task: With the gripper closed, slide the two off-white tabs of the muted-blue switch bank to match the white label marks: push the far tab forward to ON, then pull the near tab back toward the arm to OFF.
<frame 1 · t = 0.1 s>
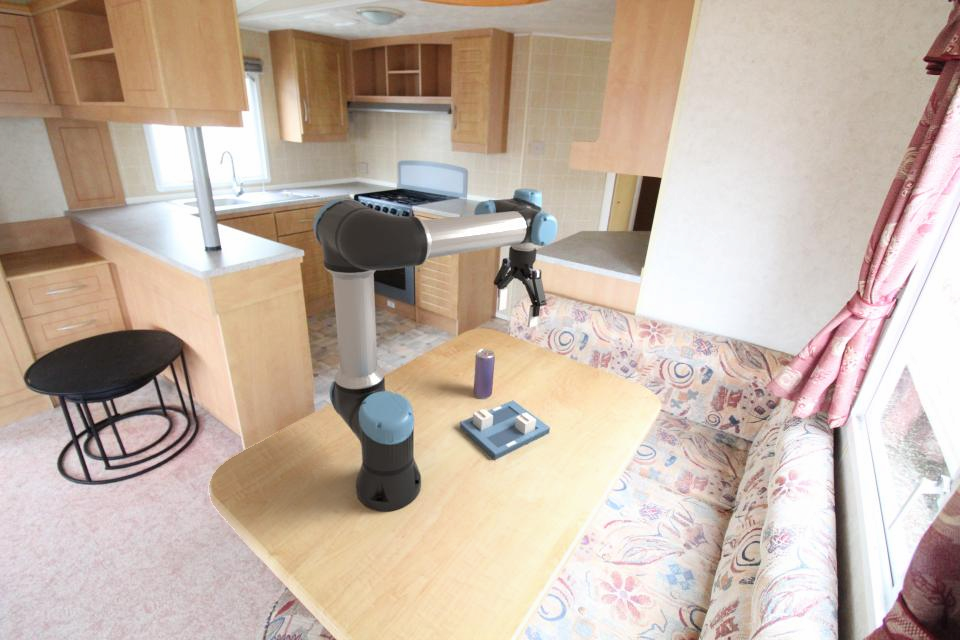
hand: (516, 317, 136), 28 cm above the table, fingers open, 13 cm apart
switch bank: (504, 430, 132), on the table
beverage can: (482, 394, 149), on the table
tab far: (482, 418, 131), point 4 cm above the table, slide at 0.0 cm, touching switch bank
tab near: (525, 422, 130), point 4 cm above the table, slide at 9.0 cm, touching switch bank
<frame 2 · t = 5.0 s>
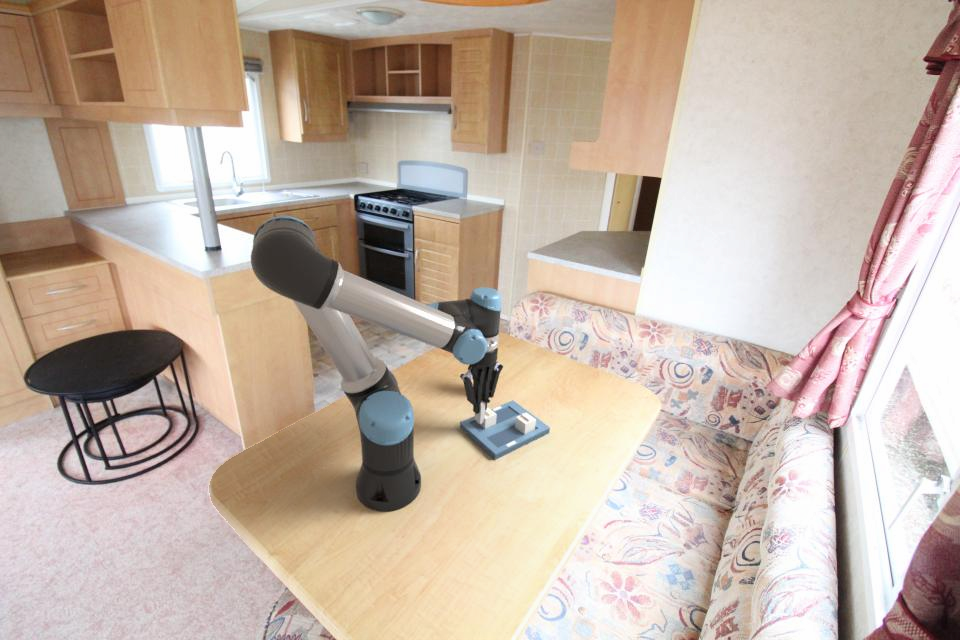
hand: (479, 420, 130), 4 cm above the table, fingers closed
tab far: (486, 417, 132), point 4 cm above the table, slide at 1.3 cm, touching gripper, switch bank
everything else where it was.
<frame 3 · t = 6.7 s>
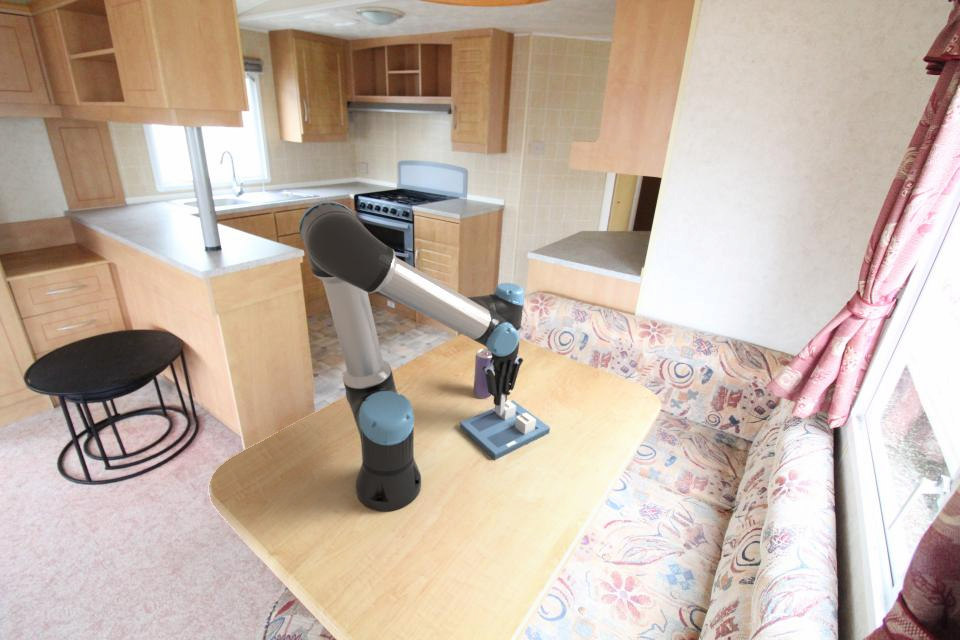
hand: (499, 412, 134), 3 cm above the table, fingers closed
tab far: (506, 408, 136), point 4 cm above the table, slide at 8.7 cm, touching gripper, switch bank
everything else where it was.
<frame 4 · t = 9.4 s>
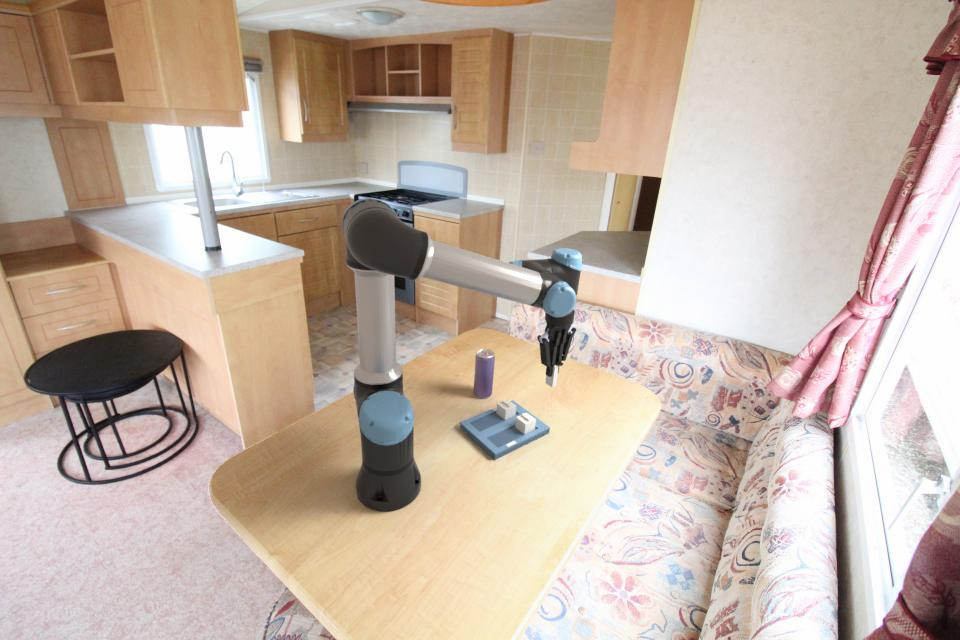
hand: (550, 384, 131), 13 cm above the table, fingers closed
tab far: (506, 408, 136), point 4 cm above the table, slide at 8.7 cm, touching switch bank
everything else where it was.
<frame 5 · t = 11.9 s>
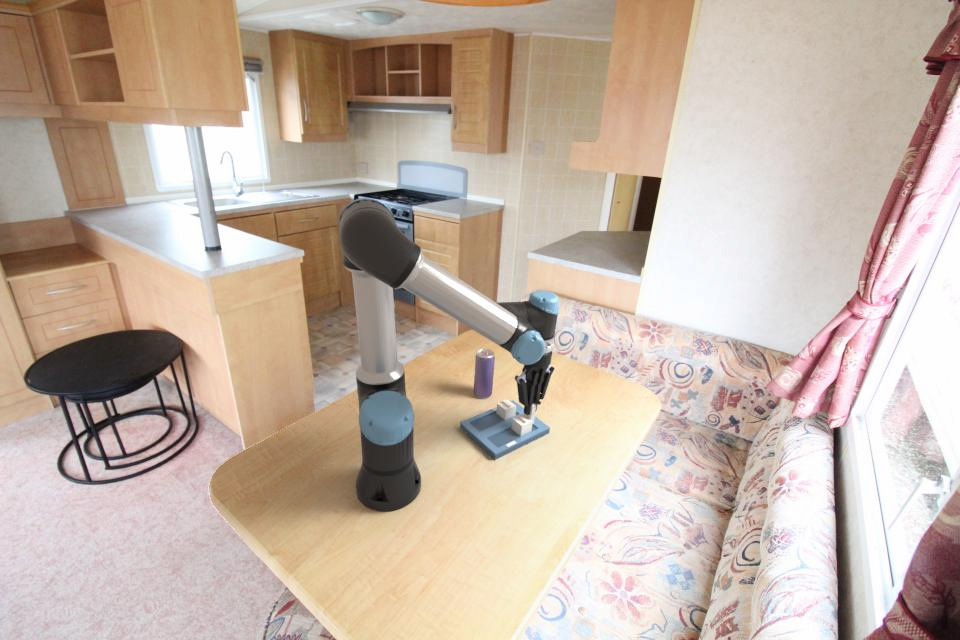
hand: (528, 422, 131), 3 cm above the table, fingers closed
tab near: (522, 424, 130), point 4 cm above the table, slide at 7.7 cm, touching gripper, switch bank
everything else where it was.
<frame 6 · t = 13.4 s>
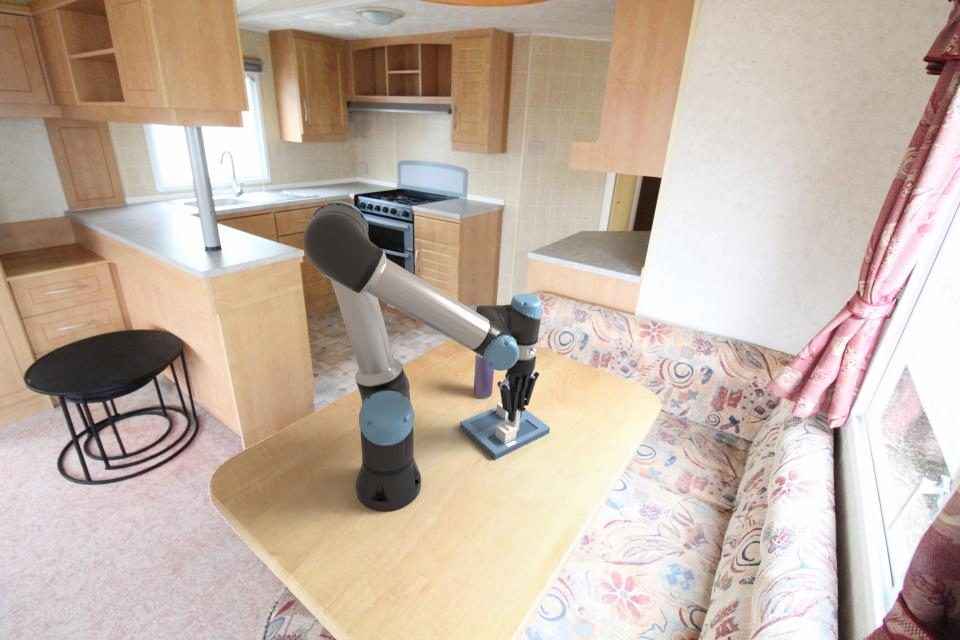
hand: (513, 428, 128), 3 cm above the table, fingers closed
tab near: (506, 431, 126), point 4 cm above the table, slide at 1.8 cm, touching gripper, switch bank
everything else where it was.
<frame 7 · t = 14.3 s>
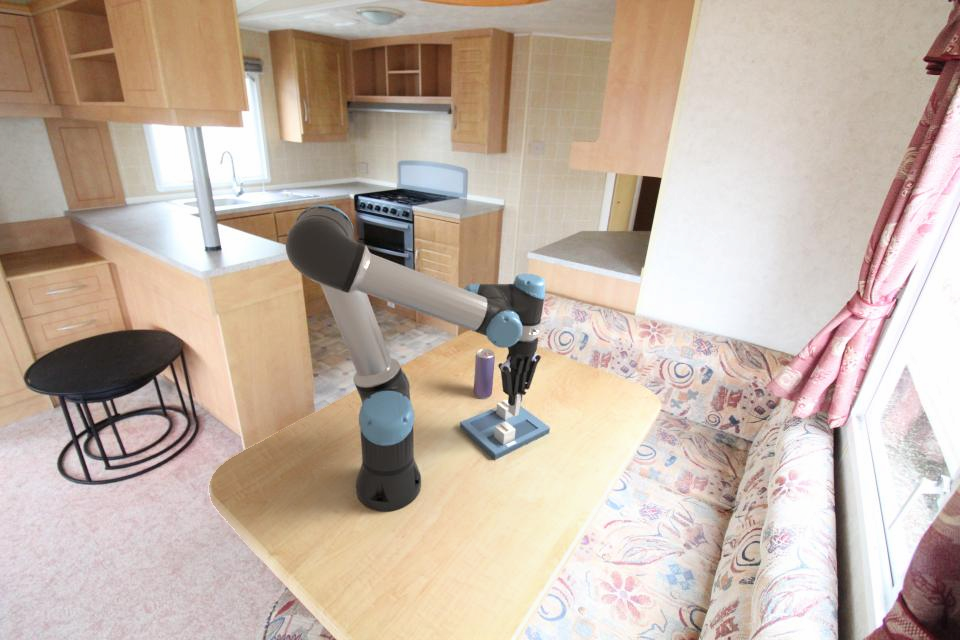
hand: (513, 413, 126), 9 cm above the table, fingers closed
tab near: (504, 432, 126), point 4 cm above the table, slide at 1.3 cm, touching switch bank
everything else where it was.
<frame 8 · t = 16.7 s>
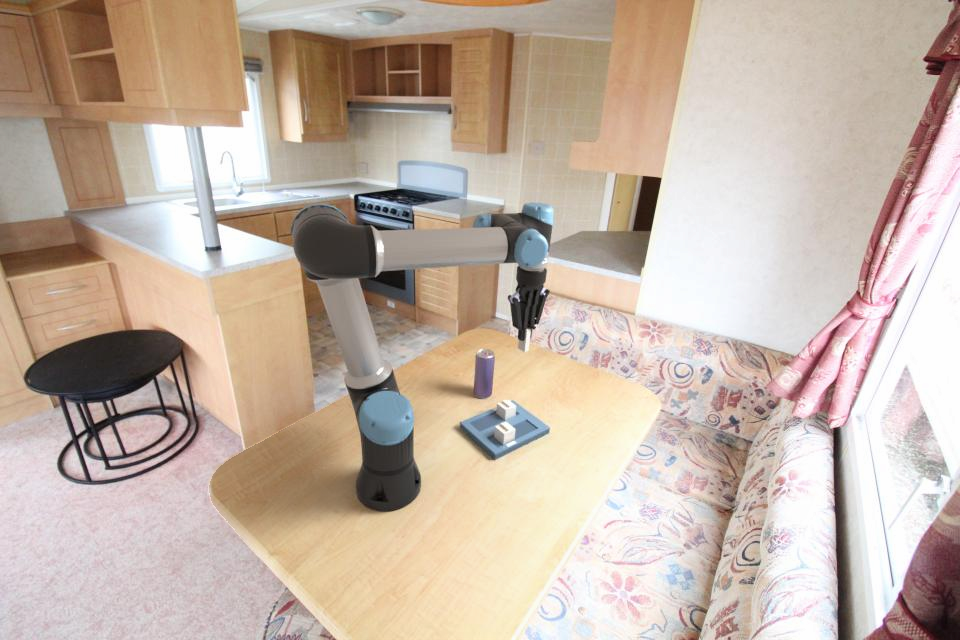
hand: (523, 349, 126), 24 cm above the table, fingers closed
nothing on the table moved.
at the end: tab far slide at 8.7 cm; tab near slide at 1.3 cm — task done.
